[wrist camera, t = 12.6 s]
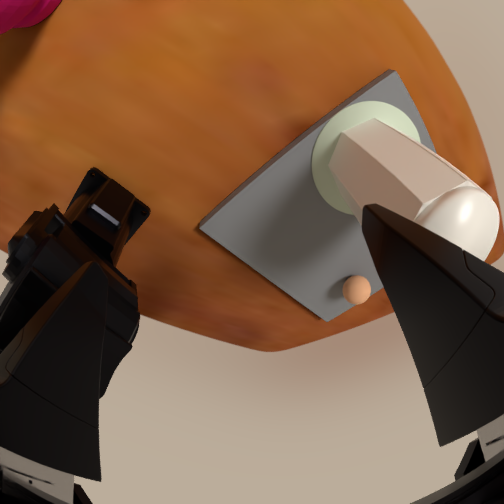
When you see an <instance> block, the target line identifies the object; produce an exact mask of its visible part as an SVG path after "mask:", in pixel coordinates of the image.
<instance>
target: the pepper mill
mask: <svg viewBox="0 0 504 504" xmlns="http://www.w3.org/2000/svg"><path fill="white" fill-rule="evenodd" d="M60 2H61V0H0V34H2V33H5V32H6V31H8V30H10V29H11V28H22V27H30V26H33V25H35V24H37V23H39V22H41V21H42V20H44V19H45V18H46V17H47V16H48V15H50V14H51V13H52V12H53V11H54V9H55V8H56V7H57V6H58V5H59V3H60Z"/></svg>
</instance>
